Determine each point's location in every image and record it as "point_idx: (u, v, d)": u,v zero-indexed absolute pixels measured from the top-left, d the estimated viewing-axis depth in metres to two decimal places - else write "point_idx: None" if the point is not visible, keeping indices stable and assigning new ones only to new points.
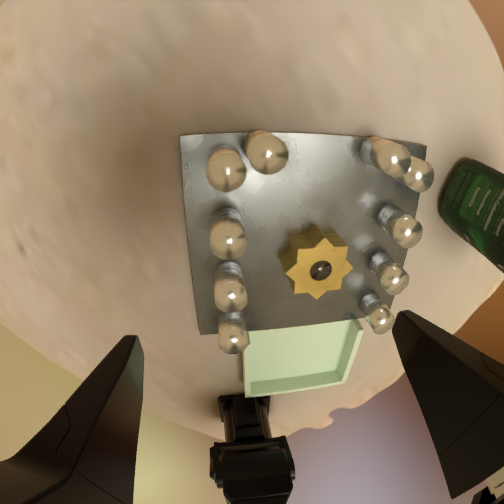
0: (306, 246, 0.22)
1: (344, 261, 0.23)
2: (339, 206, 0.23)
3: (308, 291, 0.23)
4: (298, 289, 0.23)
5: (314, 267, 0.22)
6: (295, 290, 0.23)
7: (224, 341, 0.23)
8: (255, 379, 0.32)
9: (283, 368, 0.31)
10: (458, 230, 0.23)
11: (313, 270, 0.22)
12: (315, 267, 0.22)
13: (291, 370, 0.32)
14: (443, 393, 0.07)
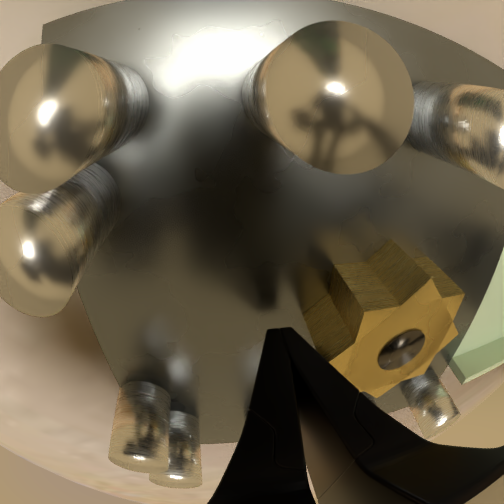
0: None
1: (404, 302, 0.07)
2: (247, 272, 0.09)
3: (433, 354, 0.09)
4: (419, 370, 0.09)
5: (387, 362, 0.09)
6: (418, 374, 0.10)
7: (431, 435, 0.12)
8: None
9: None
10: None
11: (394, 364, 0.09)
12: (390, 361, 0.09)
13: None
14: (310, 433, 0.06)
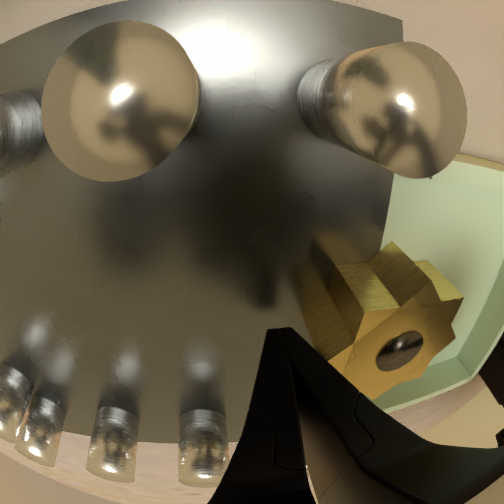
0: None
1: (404, 304, 0.07)
2: (26, 279, 0.08)
3: (431, 357, 0.09)
4: (416, 373, 0.09)
5: (385, 364, 0.09)
6: (415, 377, 0.10)
7: None
8: (458, 349, 0.14)
9: (462, 312, 0.12)
10: None
11: (392, 366, 0.09)
12: (387, 362, 0.09)
13: (476, 295, 0.11)
14: (310, 433, 0.06)
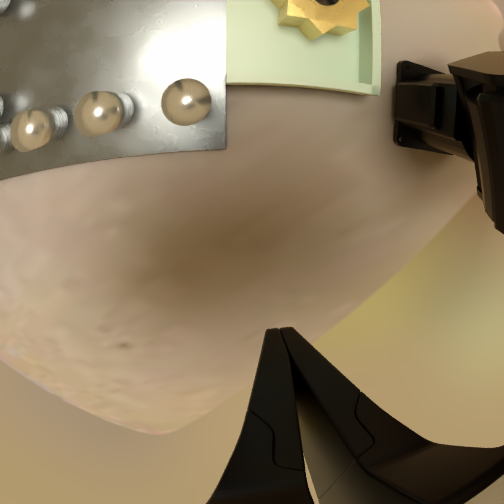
0: (286, 5, 0.11)
1: None
2: (43, 8, 0.10)
3: (355, 11, 0.11)
4: (350, 22, 0.12)
5: None
6: (351, 27, 0.12)
7: (175, 116, 0.13)
8: (353, 73, 0.15)
9: None
10: None
11: (323, 0, 0.11)
12: None
13: None
14: (311, 432, 0.06)
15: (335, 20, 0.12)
